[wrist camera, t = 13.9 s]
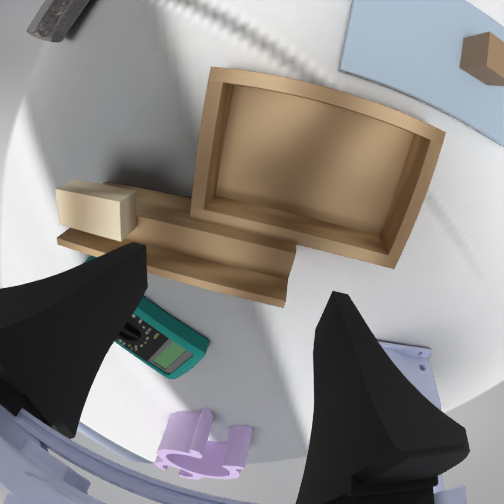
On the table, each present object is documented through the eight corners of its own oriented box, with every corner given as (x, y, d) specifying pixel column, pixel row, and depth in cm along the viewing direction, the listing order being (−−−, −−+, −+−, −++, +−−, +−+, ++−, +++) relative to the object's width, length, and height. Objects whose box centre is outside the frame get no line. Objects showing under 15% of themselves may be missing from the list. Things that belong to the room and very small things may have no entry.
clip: (209, 455, 46) (201, 483, 40) (151, 430, 44) (139, 459, 38) (267, 431, 36) (260, 472, 30) (190, 398, 34) (175, 442, 28)
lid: (511, 45, 9) (550, 43, 5) (494, 143, 14) (535, 160, 10) (357, -36, 10) (371, -69, 6) (336, 72, 15) (349, 61, 10)
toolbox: (423, 126, 15) (474, 141, 9) (371, 271, 21) (389, 329, 15) (113, 68, 16) (52, 68, 10) (106, 208, 21) (57, 244, 16)
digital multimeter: (91, 246, 24) (73, 262, 22) (214, 338, 27) (206, 360, 25) (76, 289, 28) (61, 305, 25) (181, 365, 31) (172, 385, 28)
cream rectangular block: (136, 190, 15) (119, 202, 14) (136, 227, 16) (121, 241, 15) (73, 179, 15) (55, 188, 14) (76, 213, 17) (59, 224, 15)
